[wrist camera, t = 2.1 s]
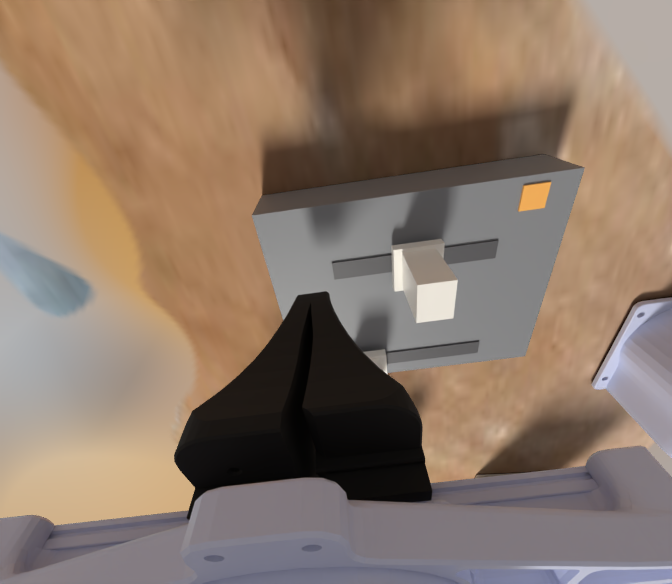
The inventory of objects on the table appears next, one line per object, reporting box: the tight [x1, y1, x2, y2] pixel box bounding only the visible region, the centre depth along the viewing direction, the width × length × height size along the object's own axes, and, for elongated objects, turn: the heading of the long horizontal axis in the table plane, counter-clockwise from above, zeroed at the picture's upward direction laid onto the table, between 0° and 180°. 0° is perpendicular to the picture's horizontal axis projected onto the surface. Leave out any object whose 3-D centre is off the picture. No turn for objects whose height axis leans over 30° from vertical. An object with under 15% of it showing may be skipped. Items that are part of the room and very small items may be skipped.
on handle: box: [364, 349, 387, 374], centre depth 18 cm, size 2×2×3 cm
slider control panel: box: [252, 154, 584, 373], centre depth 18 cm, size 12×15×3 cm
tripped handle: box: [391, 239, 458, 323], centre depth 14 cm, size 2×2×3 cm
